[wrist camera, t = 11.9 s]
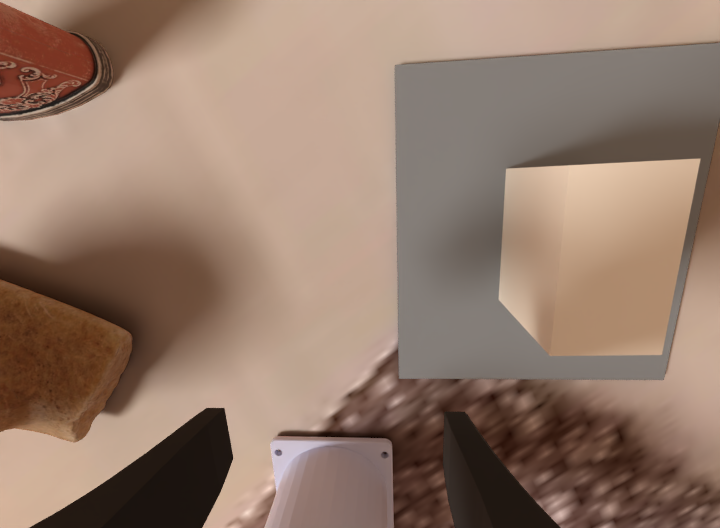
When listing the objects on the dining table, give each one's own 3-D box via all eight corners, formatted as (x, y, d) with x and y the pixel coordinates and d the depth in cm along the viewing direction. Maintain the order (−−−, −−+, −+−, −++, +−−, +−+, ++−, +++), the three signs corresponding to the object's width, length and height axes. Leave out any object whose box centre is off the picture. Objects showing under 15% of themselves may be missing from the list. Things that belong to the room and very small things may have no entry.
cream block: (590, 164, 16) (700, 158, 11) (574, 297, 18) (662, 355, 12) (506, 168, 17) (569, 165, 11) (498, 299, 19) (550, 356, 13)
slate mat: (658, 376, 20) (663, 379, 19) (398, 374, 21) (399, 378, 20) (727, 45, 15) (736, 41, 15) (394, 67, 16) (395, 65, 16)
